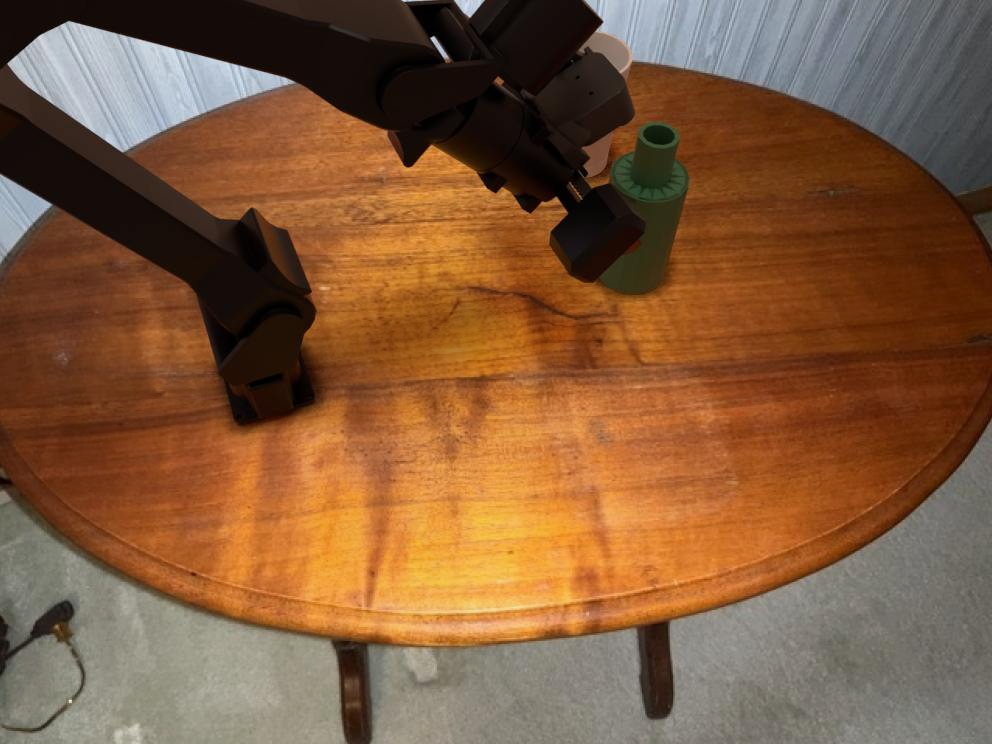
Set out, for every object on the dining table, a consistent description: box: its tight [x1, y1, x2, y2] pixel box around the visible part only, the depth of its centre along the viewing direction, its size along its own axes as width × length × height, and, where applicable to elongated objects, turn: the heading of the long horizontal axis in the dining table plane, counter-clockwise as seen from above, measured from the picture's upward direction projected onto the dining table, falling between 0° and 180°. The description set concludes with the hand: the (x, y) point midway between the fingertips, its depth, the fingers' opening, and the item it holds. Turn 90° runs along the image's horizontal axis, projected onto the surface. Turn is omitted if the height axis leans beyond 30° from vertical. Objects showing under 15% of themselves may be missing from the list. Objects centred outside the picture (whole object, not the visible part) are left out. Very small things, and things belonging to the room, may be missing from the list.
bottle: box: [598, 121, 691, 295], centre depth 70 cm, size 6×6×15 cm
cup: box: [579, 30, 634, 179], centre depth 80 cm, size 8×8×12 cm
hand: (609, 210), depth 68 cm, fingers open, 9 cm apart
